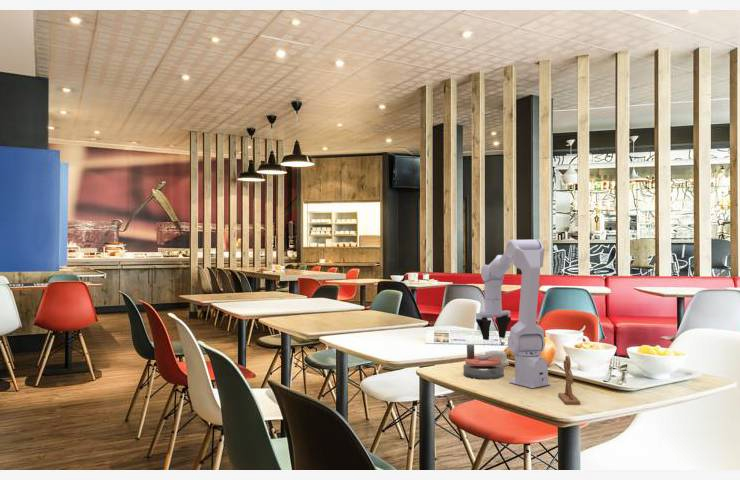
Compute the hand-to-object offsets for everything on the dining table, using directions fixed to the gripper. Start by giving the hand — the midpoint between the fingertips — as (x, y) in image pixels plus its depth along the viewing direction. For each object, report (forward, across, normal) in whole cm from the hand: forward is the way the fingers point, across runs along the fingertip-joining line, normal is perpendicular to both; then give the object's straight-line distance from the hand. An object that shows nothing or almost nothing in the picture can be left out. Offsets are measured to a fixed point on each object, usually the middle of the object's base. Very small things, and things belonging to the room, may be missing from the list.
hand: (494, 338), depth 193 cm
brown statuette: (+11, +14, +42) cm, 46 cm away
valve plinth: (+10, +10, +5) cm, 15 cm away
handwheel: (+7, +10, +5) cm, 13 cm away
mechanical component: (+11, -7, -6) cm, 15 cm away
